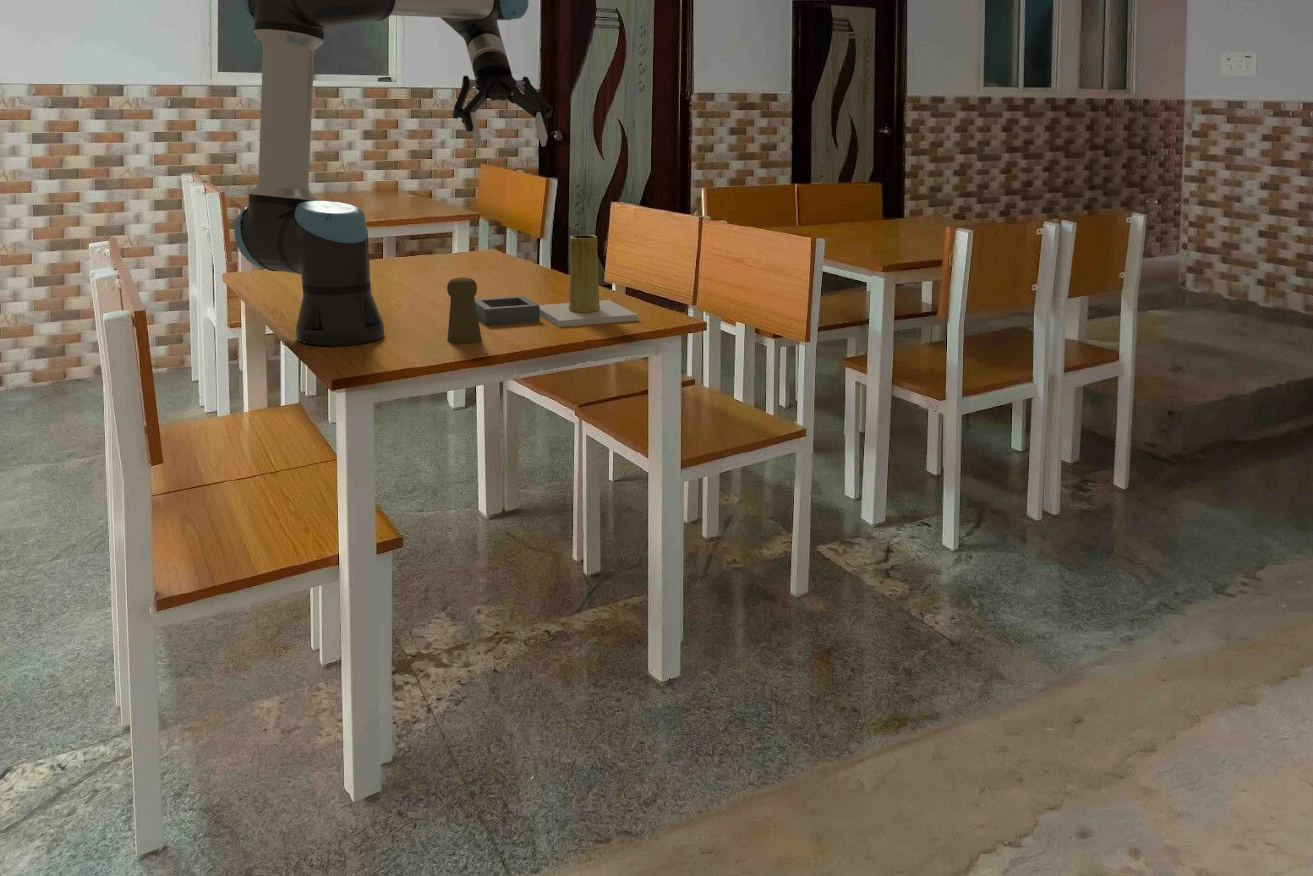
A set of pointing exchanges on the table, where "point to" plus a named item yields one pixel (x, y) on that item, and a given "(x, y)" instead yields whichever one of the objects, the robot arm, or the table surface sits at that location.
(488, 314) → the collar
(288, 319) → the table surface
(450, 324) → the olive brown pawn
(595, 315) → the board
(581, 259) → the vase
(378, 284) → the table surface
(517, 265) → the table surface
